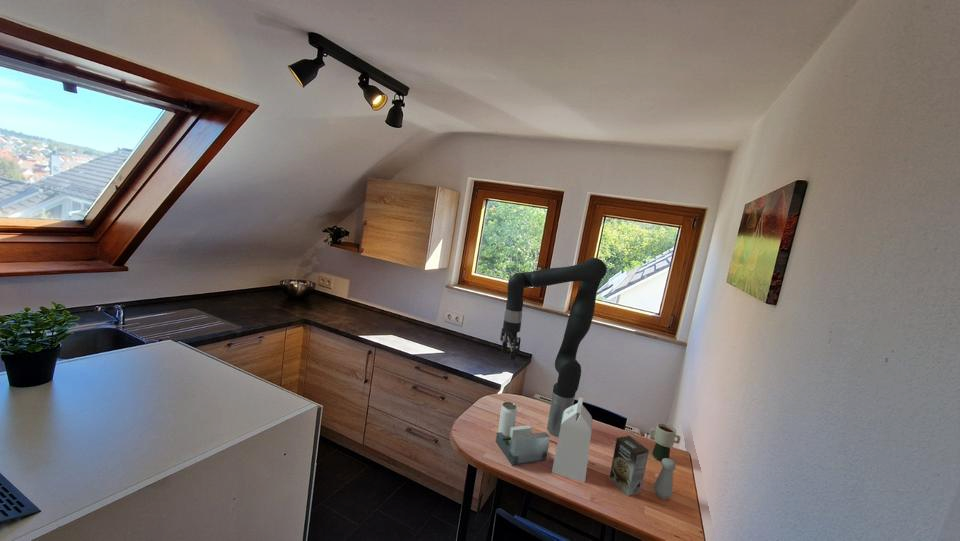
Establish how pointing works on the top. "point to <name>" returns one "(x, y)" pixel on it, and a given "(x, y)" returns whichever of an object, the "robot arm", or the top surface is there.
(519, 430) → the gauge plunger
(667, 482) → the salt shaker
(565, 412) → the milk
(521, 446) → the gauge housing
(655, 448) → the character mug
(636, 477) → the coffee box
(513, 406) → the can
